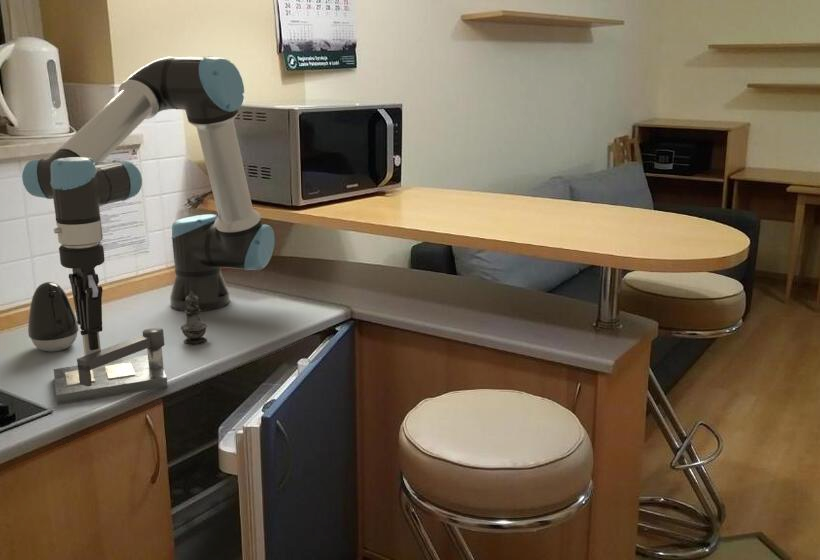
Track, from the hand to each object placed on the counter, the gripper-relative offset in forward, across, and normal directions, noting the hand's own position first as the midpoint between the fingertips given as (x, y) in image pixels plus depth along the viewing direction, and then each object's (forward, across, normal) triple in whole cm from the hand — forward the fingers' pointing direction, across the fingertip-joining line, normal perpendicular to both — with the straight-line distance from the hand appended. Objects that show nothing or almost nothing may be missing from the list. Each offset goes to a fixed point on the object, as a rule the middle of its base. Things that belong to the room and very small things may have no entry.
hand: (93, 363), depth 151 cm
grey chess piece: (+7, -17, +27) cm, 32 cm away
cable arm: (+2, 0, +6) cm, 6 cm away
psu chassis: (+6, -4, +4) cm, 9 cm away
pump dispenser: (+7, -32, 0) cm, 32 cm away
